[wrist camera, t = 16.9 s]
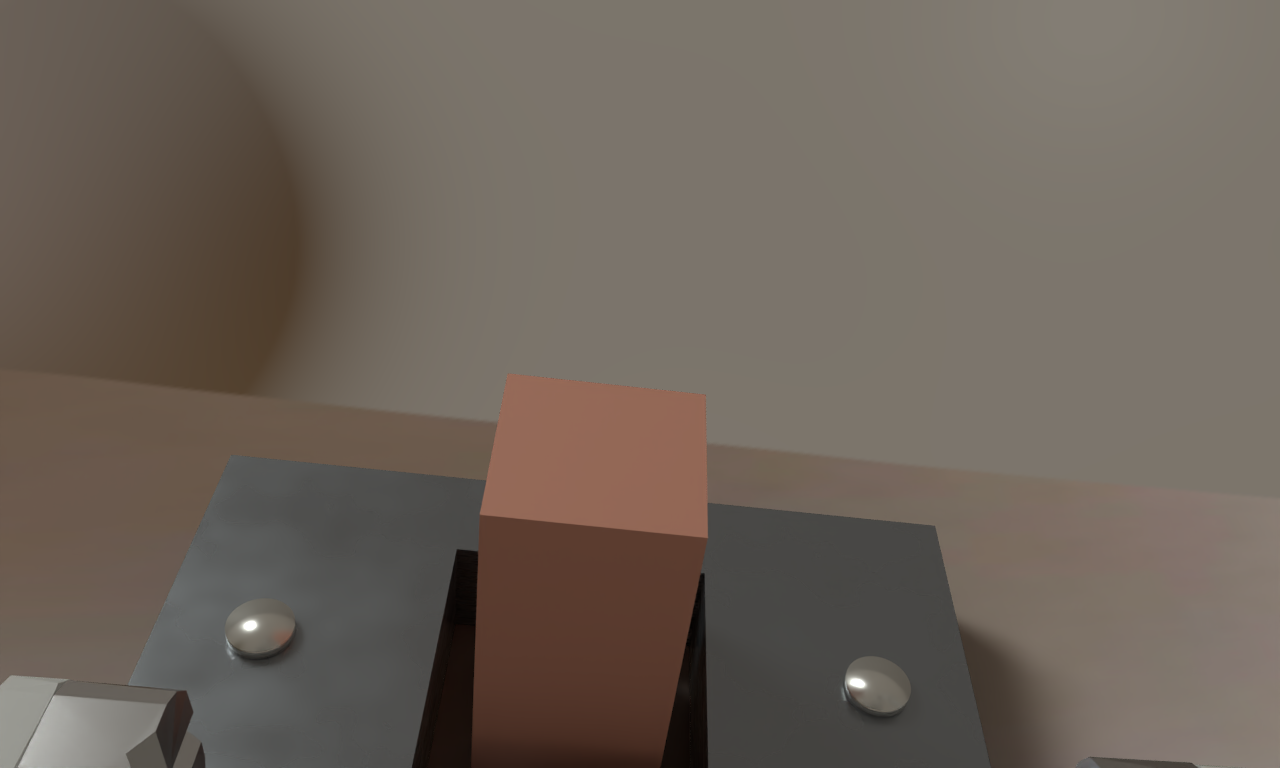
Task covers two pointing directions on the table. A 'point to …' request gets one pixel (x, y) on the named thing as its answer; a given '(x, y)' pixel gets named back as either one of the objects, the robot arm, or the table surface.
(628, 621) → the square peg
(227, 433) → the table surface
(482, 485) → the block with square hole
